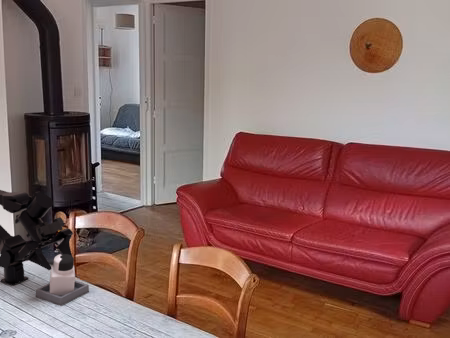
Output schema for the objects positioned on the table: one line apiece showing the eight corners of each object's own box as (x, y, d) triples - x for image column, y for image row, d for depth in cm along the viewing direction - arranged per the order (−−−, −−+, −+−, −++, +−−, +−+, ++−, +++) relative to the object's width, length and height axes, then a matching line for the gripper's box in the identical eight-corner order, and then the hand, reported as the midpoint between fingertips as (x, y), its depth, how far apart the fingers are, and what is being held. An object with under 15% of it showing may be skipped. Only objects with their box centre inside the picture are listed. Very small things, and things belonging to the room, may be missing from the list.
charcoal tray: (35, 296, 159) (35, 289, 159) (64, 283, 169) (63, 276, 169) (60, 305, 154) (60, 298, 153) (88, 292, 163) (88, 284, 163)
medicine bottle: (72, 283, 166) (75, 251, 162) (73, 295, 159) (76, 262, 156) (49, 283, 163) (52, 251, 159) (49, 296, 157) (52, 263, 153)
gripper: (22, 219, 150) (51, 260, 147) (67, 204, 166) (94, 242, 164) (6, 239, 155) (33, 280, 153) (51, 223, 171) (77, 260, 169)
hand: (61, 264), depth 159 cm, fingers open, 9 cm apart
